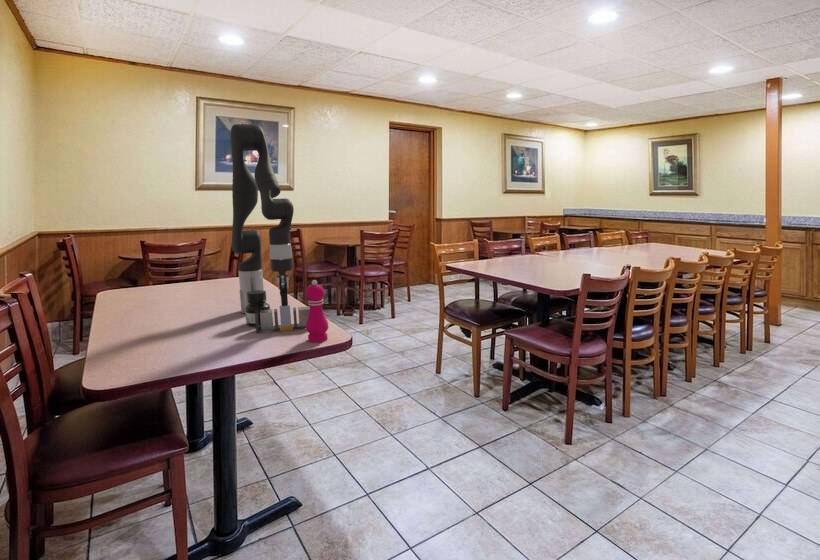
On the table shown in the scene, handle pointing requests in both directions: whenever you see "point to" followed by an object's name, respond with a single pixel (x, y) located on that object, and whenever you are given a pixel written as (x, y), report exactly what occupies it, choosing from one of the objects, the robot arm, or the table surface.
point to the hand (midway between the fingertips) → (284, 305)
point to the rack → (267, 320)
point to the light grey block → (285, 315)
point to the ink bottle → (255, 305)
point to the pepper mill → (316, 314)
